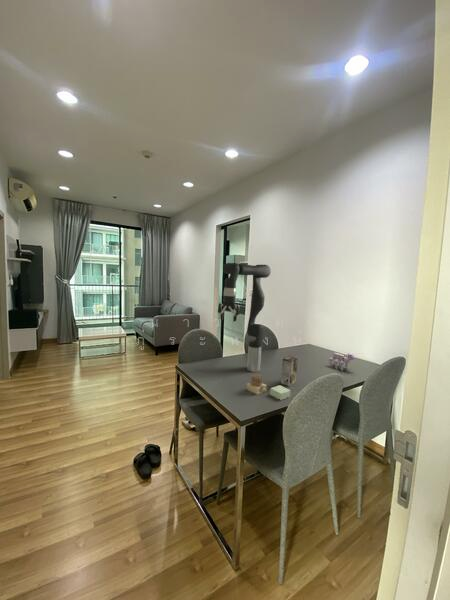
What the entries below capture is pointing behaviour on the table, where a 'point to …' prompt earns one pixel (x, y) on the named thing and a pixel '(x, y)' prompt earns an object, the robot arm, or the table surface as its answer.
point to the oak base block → (256, 388)
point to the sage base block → (280, 392)
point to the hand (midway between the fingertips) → (228, 320)
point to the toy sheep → (341, 359)
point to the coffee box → (289, 370)
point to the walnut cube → (256, 380)
